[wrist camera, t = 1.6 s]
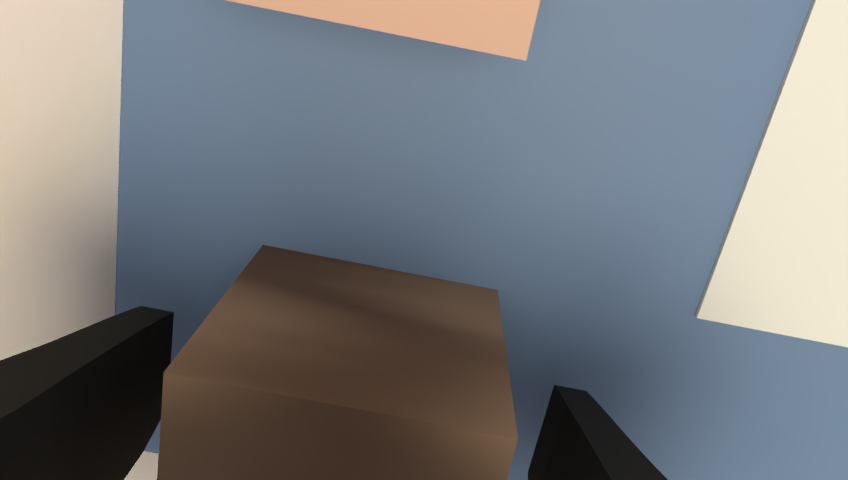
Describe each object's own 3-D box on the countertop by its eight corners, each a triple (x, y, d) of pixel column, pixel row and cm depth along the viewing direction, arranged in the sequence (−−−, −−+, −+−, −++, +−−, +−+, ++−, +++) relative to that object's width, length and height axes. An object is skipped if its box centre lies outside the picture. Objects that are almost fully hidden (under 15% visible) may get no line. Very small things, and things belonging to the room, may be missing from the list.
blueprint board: (128, 422, 15) (109, 447, 14) (157, -336, 10) (130, -366, 9) (899, 565, 15) (925, 599, 15) (1286, -98, 10) (1358, -106, 10)
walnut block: (241, 439, 14) (148, 631, 10) (263, 244, 12) (163, 372, 8) (450, 478, 14) (447, 684, 10) (497, 290, 13) (517, 439, 8)
